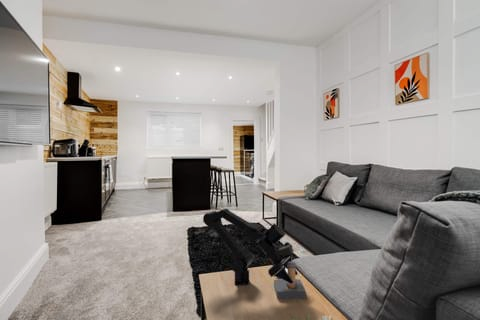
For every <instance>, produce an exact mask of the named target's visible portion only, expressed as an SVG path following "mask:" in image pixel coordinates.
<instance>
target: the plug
mask: <svg viewBox="0 0 480 320" xmlns="http://www.w3.org/2000/svg"><path fill="white" fill-rule="evenodd" d="M296 265H297V263H296V262H294V261H292V262H287V267H288V275H289V276H290V278H291V279H292V281H293V283H292V284H291V283H289V282H288V289H296V284H295V279H296V275H295V269H296Z"/></svg>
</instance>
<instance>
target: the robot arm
mask: <svg viewBox="0 0 480 320" xmlns="http://www.w3.org/2000/svg"><path fill="white" fill-rule="evenodd" d="M222 219H224V220H225V221H226V222H229V224H232V225H233V226H235V227H237V228H238V229H240V230H241V231H242V232H243V233H244V235H245V236H246V237H247V238H249V239H250V240H251V241H253V242H254V248H255V249H256V248H258V247H259V248H260V249H261V251H263V253H264V254H265V258H266V259H268V258H269V260H270V261H271V262H272V264H271V267H270V268H269V269H268V271H267V272H268V275H269V276H270V278H272V277H275V278H276V277H278V278H277V279H280V280H285V281H287V282H289V283H291V284H292V283H293V281H292V279H291V278H290V276H289V275H288V273H287V272H286V270H285V268H286V269H288V267H287V262H293V252H294V248H293V245H292V244H291V243H290V242H289V241H287V242H286V241H285V242H284V243H283V246H282V247H280V246H279V245H277V246H276V245H275V244H277V243H278V242H279V241H280V240H282V239H283V238H284V237H285V236H286V232H285V230H284V229H283V228H282V227H280V226H279V225H277V224H276V223H273V224H272V225H271V226H270V227H269V228H264V227H262V225H260V224H257V223H254V222H251V221H250V222H249V221H247V220H245V219H243V218H242V217H241V216H238V215H237V214H236V213H234V212H232V211H231V210H230V209H228V208H223V209H220V210H219V211H215V210H213V211H209V212H206V213H205V214H203V217H202V222H203V223H204V224H205V225H206V226H207V227H208V228H209V229H210V230H211V229H212V230H213V231H214V232H215V233H216V234H217V235H218V237H219V238H220V239H221V241H223V244H225V246H226V248H228V249H229V251H230V252H231V253H232V257H233V261H234V262H235V263H234V264H233V265H232V266H231V270H232V272H234V285H235V286H236V285H239V286H240V285H249V281H250V271H249V269H248V267H250V265H251V264H252V263H253V258H254V257H253V255H252V252H251V251H250V250H249V249H248V247H247V246H245V247H242V246H241V245H240V244H239V243H238V241H237V240H236V239H235V238H234V237H233V236H232V234H231V233H230V231H229V230H228V229H227V228H226V227H225V225H224V224H223V222H222ZM283 266H284V267H283ZM298 274H299V273H298V270H296V268H295V276H297V275H298Z"/></svg>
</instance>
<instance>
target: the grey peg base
mask: <svg viewBox="0 0 480 320" xmlns="http://www.w3.org/2000/svg"><path fill="white" fill-rule="evenodd" d="M301 280H302V279H300V278H299V279H298V278H297V279H296V278H295V284H296V289H288V282H287V281H285V280H283V279H273V287H274V291H275V296H276V299H277V300H283V299H284V300H287V299H288V300H293V299H306V298H307V291H306V288H305V287H304V285H303V282H302V281H301Z"/></svg>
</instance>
